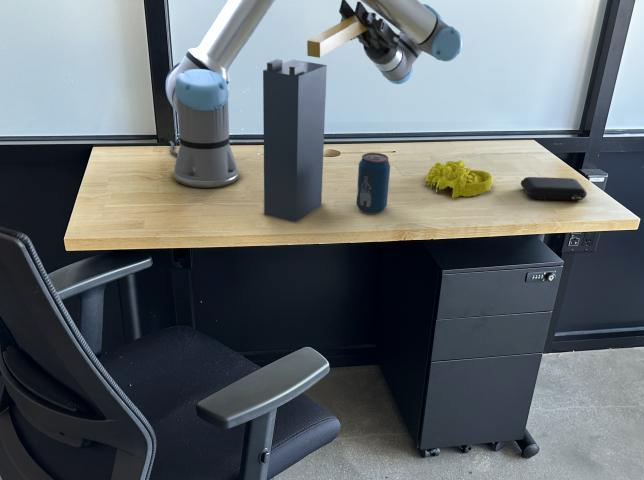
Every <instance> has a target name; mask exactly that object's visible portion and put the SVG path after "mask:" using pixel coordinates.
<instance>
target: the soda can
mask: <svg viewBox="0 0 644 480" xmlns="http://www.w3.org/2000/svg"><path fill="white" fill-rule="evenodd" d="M390 173H391V163H390V161H389V156H388V155H386V154H384V153H381V152H367V153H363V154H362V156H361V159H360V161H359V162H358V173H357V184H356V185H357V186H356V200H355V203H356V206H357V208H358V211H360V212H361V213H364V214H366V215H379V214H381V213H383V212H384V211H385V209H386V208H387V206H388V198H389V197H388V196H389V186H390V175H391V174H390Z"/></svg>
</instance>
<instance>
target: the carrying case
mask: <svg viewBox="0 0 644 480" xmlns="http://www.w3.org/2000/svg"><path fill="white" fill-rule="evenodd" d="M520 186H521V187H522V188H523V190H524V192H525V194H526V195H527V197H528V198H530V199H532V200H545V201H546V200H549V201H550V200H551V201H582V200H583V199H585V198H586V197H587V195H588V192H587V191H586V189H585V188H584V186H582V184H581V182H579V181H578V180H577V179H575V178H573V177H572V178H569V177H544V176H543V177H541V176H527V177H524V178H523V179H522V180H521V181H520Z"/></svg>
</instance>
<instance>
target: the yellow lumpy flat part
mask: <svg viewBox="0 0 644 480" xmlns="http://www.w3.org/2000/svg"><path fill="white" fill-rule="evenodd" d="M424 183H425V184H424V185H425V186H426V185H427V187H429V186H431V185H433V186H436V188H435V193H437V192H438V189H439V191H441V190H444V189H448V188H447V187H449V188H451V189H452V195H451V198H452V199H454V198H455V199H456V198H458V197H462V196H463V197H471V196H477V195H482V194H484V193H486V192H489V191H490V190H491V189H492V186H493V175H492V174H491V173H490V172H488V171H485V170H477V169H472V168H471V167H466V165H465V160H462V159H460V160H457V161H453V160H448V161H446V162H445V164H444V163H441V162H439V161H437V162H436V163H435V164H434V166H432V167H431V168H430V169H429V171H428V172H427V175H426V178H425V182H424ZM430 189H431V190H432V187H430Z"/></svg>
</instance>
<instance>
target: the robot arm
mask: <svg viewBox="0 0 644 480" xmlns="http://www.w3.org/2000/svg"><path fill="white" fill-rule="evenodd" d="M275 1H276V0H227V2H226V4H225V5H224V6H223V8H222V9H221V12H220V13H219V14H218V16H217V18H216V19H215V21H214V23H213V24H212V26H211V27H210V29H209V30H208V31H207V33H206V35H205V36H204V38H203V39H202V41H201V43H200V44H199V46H198V47H195V48H194V47H193V48H189V49H188V50H187V52H186V53H185V55H184V57H183V59H182V60H181V61H180V62H178V63H176V64H175V65H174V66H172V68H171V69H169V71H168V73H167V76H166V78H165V79H166V80H165V93H166V96H167V100H168V102H169V104H170V105H171V106H172V108H173V109H174V111H175V113H176V114H177V125H178V126H177V128H178V140H179V147H178V150H177V152H176V151H174V148H175V143H174V142H173V141H172V140H171V141H169V140H167V139H165V138H161V137H160V139H159V140H160V141H164V140H166V141H167V142H168V143H169V144H170V145H171V146H170V147H169V152H170V154H172V155H174V156H176V159H175V162H174V166H173V167H174V168H173V177H174V179H175V181H176V182H178V184H181V185H183V186H187V187H191V188H197V189H198V188H199V189H200V188H201V189H212V188H214V189H215V188H220V187H221V188H222V187H225V186H229V185H231V184H233V183H235V182H236V181H237V180H238V179H239V169H238V165H237V162H236V159H235V157H234V154H233V151H232V148H231V145H230V123H229V122H230V121H229V120H230V119H229V118H230V117H229V94H230V93H229V88H228V85H229V83H230V81H231V80H230V75H229V72H230V69H231V68H232V66H233V65H234V63H235V62H236V61H237V59H238V57H239V56H240V55H241V53H242V51H243V50H244V49H245V46H246V45H247V43H248V42H249V41H250V40H251V38H252V37H253V35H254V33H255V32H256V30H257V28H258V27H259V26H260V24H261V22H262V21H263V20H264V18H265V16H266V15H267V13H268V12H269V10H270V9H271V8H272V6H273V4H274V2H275ZM364 4H365V5H366V6H367V7H369V9H371V10H372V11H373V12H370V13H371V14H370V13H369V11H368V10H367V9H366V7H365V5H364ZM338 13H339V14H340V15H341V17H340V22H339V23H341V22H342V21H344V20H346V19H348V18H350V17H352V16H353V15H355V16H356V17H357V18H358V20H359V21H360V22H361V24H362V25H363V26H364V27H367V25H368V30H366V31H364V32H363V33H361V34H359V35H358V36H356V37H354V38H353V39H351V40H350V41H353V40H355V39H357V40H358V42H359V43H360V44H362V47H363V51H364V53H365V55H366V57H367V58H369V60H370V61H371V62H372V64H373V65H374V66H375V67H376V68H377V69H378V71H380V73H381V74H382V76H383V77H384V78H385V79H386V80H388V81H389V83H391V84H393V85H402V84H405V83H406V82H407V81H408V80H409V79H410V78H411V76H412V74H413V70H414V69H413V68H414V66H413V65H414V63H415V62H416V60H417V59H418V58H419V57H420V55H421V54H422V53H423V52H424V53H426V54H428V55H430V56H431V57H433V58H434V59H436V60H437V61H442V62H451V61H453V60H454V59H456V58H457V57H458V56H459V54H460V52H461V50H462V47H463V38H462V34H461V33H460V32H459V31H458V30H457V29H455V27H453V26H452V25H451V26H450V25H448V24H447V23H446V22H445V21H444V20H443V19H444V18H443V17H442V16H441V15H440V14H439V13H438V11H437V10H435V9H434V8H433V7H431V6H430V5H429V4H427V3H426V4H425V3H422V2H420V1H419V0H360V1H356V6H355V9H353V8H352V6H351V5H350V4H349V3H348V1H347V0H341V2H340V7H339V10H338ZM377 15H379V16H380V18H378V19H377ZM387 22H388V23H389V24H391V25H392V26H393V27H394V28H395V29H397V30H398V31H399V33H396V32H395V31H394V30H393V29H392V28H391V26H390V25H389V24H388V23H387Z"/></svg>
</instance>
